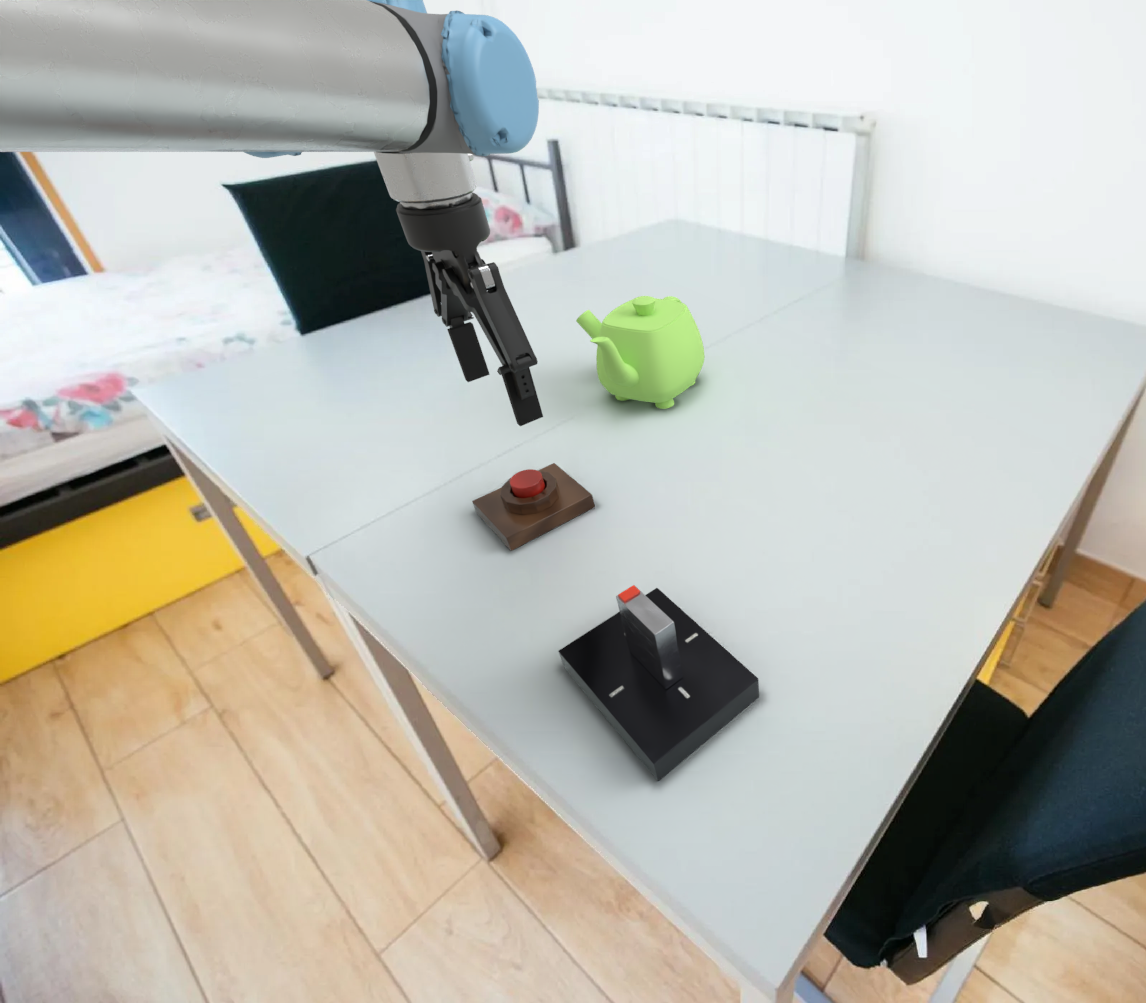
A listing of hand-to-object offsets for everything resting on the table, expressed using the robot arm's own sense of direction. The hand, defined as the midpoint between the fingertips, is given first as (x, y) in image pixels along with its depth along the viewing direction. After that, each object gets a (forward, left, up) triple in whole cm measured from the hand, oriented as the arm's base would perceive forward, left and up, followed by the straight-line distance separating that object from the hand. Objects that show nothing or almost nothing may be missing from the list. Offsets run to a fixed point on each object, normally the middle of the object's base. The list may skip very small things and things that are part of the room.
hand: (502, 397), depth 71 cm
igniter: (0, +1, -17) cm, 17 cm away
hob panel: (-4, -32, -17) cm, 37 cm away
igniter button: (0, +1, -14) cm, 14 cm away
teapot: (+28, +18, -17) cm, 37 cm away
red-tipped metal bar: (-4, -32, -14) cm, 36 cm away
